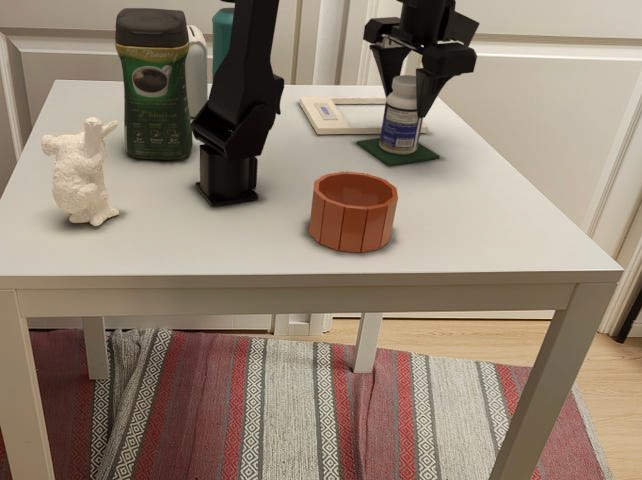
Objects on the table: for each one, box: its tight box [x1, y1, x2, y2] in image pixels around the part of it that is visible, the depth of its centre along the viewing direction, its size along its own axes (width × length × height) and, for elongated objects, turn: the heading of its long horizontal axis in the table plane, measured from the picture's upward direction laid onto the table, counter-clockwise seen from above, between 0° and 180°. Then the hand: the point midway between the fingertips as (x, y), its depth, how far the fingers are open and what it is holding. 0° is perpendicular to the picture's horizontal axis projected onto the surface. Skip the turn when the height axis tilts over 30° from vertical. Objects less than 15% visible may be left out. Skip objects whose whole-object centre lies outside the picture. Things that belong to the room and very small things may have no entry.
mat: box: [356, 137, 441, 167], centre depth 99 cm, size 9×9×1 cm
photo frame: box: [298, 96, 429, 135], centre depth 109 cm, size 15×1×18 cm
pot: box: [308, 171, 399, 254], centre depth 77 cm, size 10×10×6 cm
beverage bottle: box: [211, 0, 235, 80], centre depth 97 cm, size 6×7×20 cm
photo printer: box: [185, 24, 209, 118], centre depth 106 cm, size 10×4×12 cm, turn 13°
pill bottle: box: [379, 74, 424, 155], centre depth 95 cm, size 6×6×10 cm
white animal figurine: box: [40, 116, 120, 227], centre depth 75 cm, size 8×7×12 cm
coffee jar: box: [114, 7, 194, 160], centre depth 89 cm, size 10×8×19 cm
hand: (405, 108), depth 95 cm, fingers open, 8 cm apart
